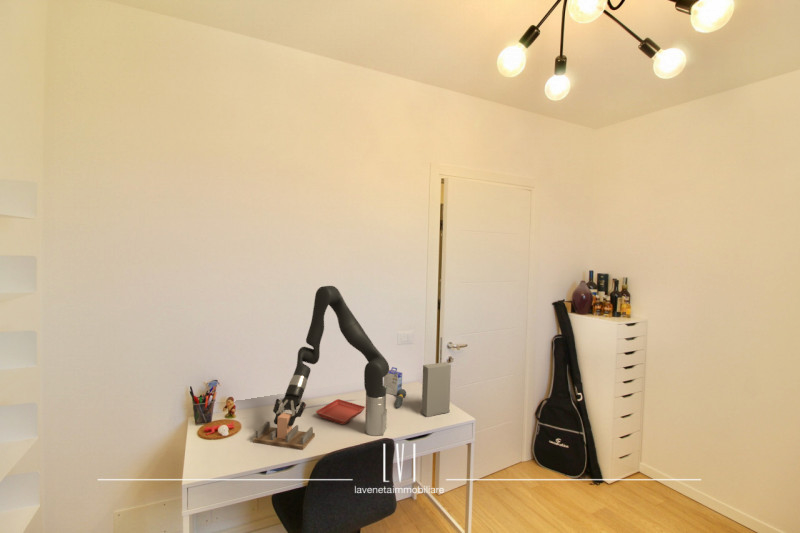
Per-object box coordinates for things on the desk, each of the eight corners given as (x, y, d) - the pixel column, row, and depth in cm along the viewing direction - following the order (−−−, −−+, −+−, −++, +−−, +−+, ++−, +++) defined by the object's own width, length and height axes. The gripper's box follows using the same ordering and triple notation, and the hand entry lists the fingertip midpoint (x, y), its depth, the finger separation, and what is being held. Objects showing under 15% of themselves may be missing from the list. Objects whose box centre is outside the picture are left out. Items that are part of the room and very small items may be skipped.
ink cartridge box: (402, 393, 206) (402, 368, 205) (397, 396, 201) (398, 371, 201) (388, 389, 211) (388, 365, 210) (383, 392, 206) (383, 368, 206)
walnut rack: (314, 436, 155) (314, 426, 155) (303, 450, 145) (303, 439, 144) (267, 429, 160) (268, 420, 160) (253, 442, 149) (253, 432, 149)
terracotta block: (292, 434, 154) (292, 413, 154) (286, 439, 150) (287, 418, 149) (282, 432, 155) (283, 412, 155) (277, 437, 151) (277, 417, 150)
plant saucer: (365, 412, 181) (365, 406, 180) (344, 427, 165) (344, 420, 164) (337, 404, 189) (337, 398, 189) (314, 418, 173) (314, 411, 173)
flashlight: (404, 410, 184) (404, 400, 184) (394, 409, 185) (394, 400, 184) (406, 394, 204) (406, 386, 204) (398, 394, 204) (398, 386, 204)
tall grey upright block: (443, 407, 188) (444, 361, 187) (449, 412, 182) (451, 365, 181) (420, 412, 182) (422, 364, 181) (426, 417, 176) (427, 368, 175)
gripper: (279, 382, 160) (264, 419, 149) (308, 385, 157) (295, 424, 146) (285, 389, 166) (270, 426, 154) (313, 392, 163) (300, 430, 152)
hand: (282, 424), depth 150 cm, fingers open, 6 cm apart
